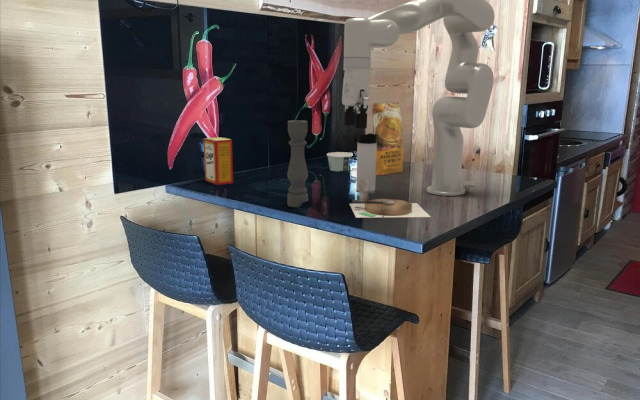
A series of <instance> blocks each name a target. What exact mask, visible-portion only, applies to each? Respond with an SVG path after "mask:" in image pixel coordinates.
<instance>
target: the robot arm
mask: <svg viewBox="0 0 640 400" xmlns="http://www.w3.org/2000/svg"><path fill="white" fill-rule="evenodd" d="M495 18H496V16H495V10H494V8H493V6H492V5H491V3H489V2H488V1H487V0H410V1H408V2H405V3H402V4H399V5H396V6H395V7H393V8H389V9H386V10H384V11H381V12H379V13H377V14H375V15H372V16H370V17H368V18H364V17H352V18H347V19H346V20H345V21H344V29H343V30H344V33H343V34H344V35H343V36H344V37H343V40H344V41H343V69H342V70H343V71H344V74H343V84H342V92H341V93H342V96H341V103H342V105H344V118H343V119H344V120H343V121H344V122H343V123H344V126H354V128H355V129H367V128H368V114H369V113H368V112H369V110H368V108H369V101H370V99H369V98H370V97H369V96H370V95H369V94H370V83H369V82H370V80H369V79H370V78H369V75H370V74H369V71H371V68H372V67H371V66H372V65H371V63H372V61H371V60H372V49H375V48H378V49H379V48H387V47H392V46H393V45H395V44H396V43H397V41H398V40H399V38H400V35H404V34H408V33H409V34H410V33H412V32H416V31H419V30H421V29H423V28H426V27H427V26H429V25H431V24H433V23H435V22H436V21H439V20H441V19H443V26H444V29H445V30H446V32H447V33H448V35H449V38H450V41H451V53H450V58H449V62H448V66H447V69H446V74H445V76H444V77H445V78H444V87H445V89H446V91H448V92H450V93H452V94H459V95H460V94H462V95H463V94H464V95H466V97H465V96H443V97H440V98H438V99H437V100H436V101H435V102H434V104H433V106H432V110H431V112H432V114H431V116H432V124H433V148H432V149H433V150H432V153H433V155H432V169H431V171H432V173H431V185H429V186H426V192H427V193H429V194H432V195H437V196H444V197H445V196H447V197H449V196H451V197H452V196H453V197H454V196H462V195H464V194H465V193H466V188H475V187H476V181H469V180H464V179H463V178H462V167H463V152H464V136H463V135H464V134H463V132H462V130H461V129H462V128H463V129H476V128H478V127H480V126H481V125H482V123H483V122H484V120H485V118H486V116H487V115H486V114H487V111H488V106H489V103H490V99H491V96H492V92H493V87H494V83H495V82H494V79H495V78H494V72H493V70H492V68H491V67H490V66H489V65H488V64H487V63H482V62H478V58H479V53H480V49H479V48H480V47H479V44H478V41H477V39H476V37H475V34H474V33H481V32H485V31H487V30H489V29H490V28H491V27H492V26H493V24H494V21H495ZM355 110H356V111H355Z"/></svg>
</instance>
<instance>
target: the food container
mask: <svg viewBox="0 0 640 400" xmlns="http://www.w3.org/2000/svg"><path fill="white" fill-rule="evenodd" d="M326 156H327V159H328V160H327V161H328V166H329V167H328V168H329V170H330V171H333V172H340V171H344V172H350V171H349V159H350V157H352V156H353V152H343V151H341V152H340V151H336V152H333V151H332V152H328V153H326Z"/></svg>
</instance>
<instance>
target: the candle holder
mask: <svg viewBox="0 0 640 400" xmlns="http://www.w3.org/2000/svg"><path fill="white" fill-rule="evenodd" d="M287 133H288V136H289V138H290V141H288V144H289V145H290V160H289V164H288V169H287V173H286V174H287V178H288V180H289V181H290V186H289V187H288V189H287V190H288V192H287V201H286V202H287V206H288V207H291V208H300V207H301V206H302V205H303V204H305V202H308V201H309V193H307V192H308V188H307V187H306V185H305V184H306V181H307V179H308V177H309V172H308V171H309V170H308V167H307V163H306V158H305V146H306V145H307V144H308V143H307V141H306V140H305V139H306V136H307V133H308V121H307V120H303V119H302V120H297V119H296V120H295V119H294V120H288V121H287Z"/></svg>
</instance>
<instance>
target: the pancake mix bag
mask: <svg viewBox="0 0 640 400" xmlns="http://www.w3.org/2000/svg"><path fill="white" fill-rule="evenodd" d="M371 117H372V129H373V130H372V131H373V132H372V133H373V134H377V140H376V143H377V144H376V145H377V147H376V176H386V175H393V174H399V173H400V174H401V173H403V170H404V167H403V165H404V164H403V163H404V162H403V161H404V124H403V117H402V108H401V104H400V103H399V102H374V103H373V104H372V105H371Z"/></svg>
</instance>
